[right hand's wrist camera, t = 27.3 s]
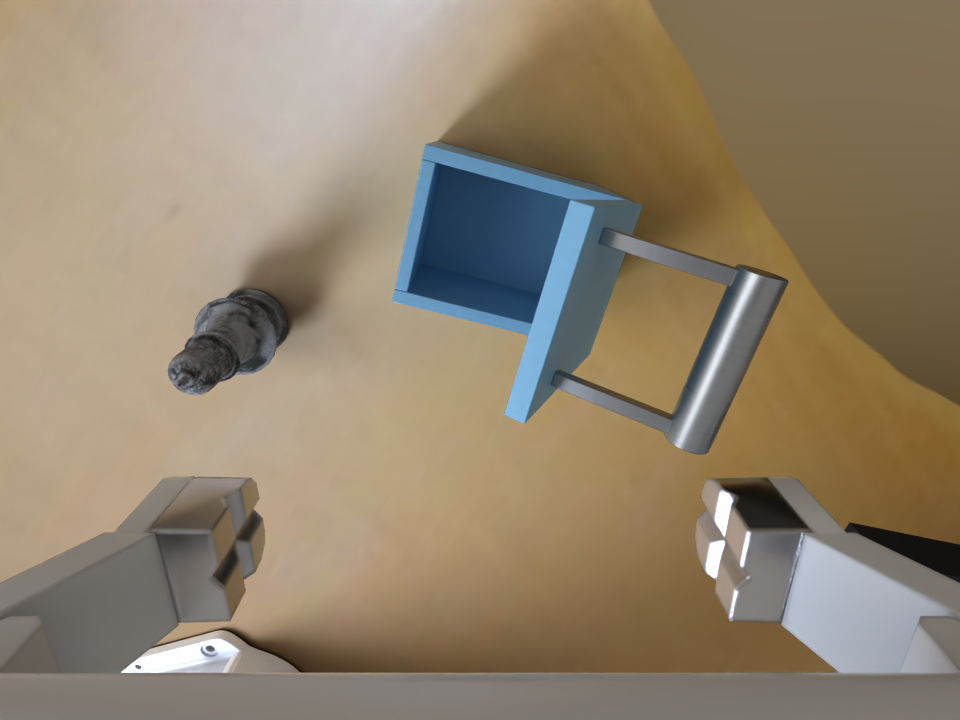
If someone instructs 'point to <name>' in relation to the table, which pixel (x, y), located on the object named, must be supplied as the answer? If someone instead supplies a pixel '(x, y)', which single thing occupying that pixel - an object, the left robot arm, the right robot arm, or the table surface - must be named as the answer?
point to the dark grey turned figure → (229, 341)
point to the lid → (582, 303)
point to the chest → (484, 236)
